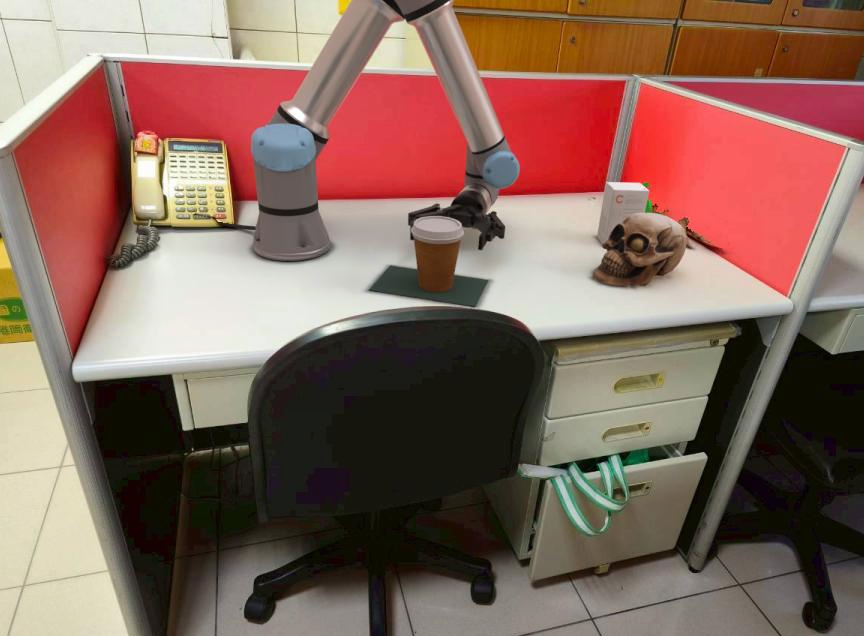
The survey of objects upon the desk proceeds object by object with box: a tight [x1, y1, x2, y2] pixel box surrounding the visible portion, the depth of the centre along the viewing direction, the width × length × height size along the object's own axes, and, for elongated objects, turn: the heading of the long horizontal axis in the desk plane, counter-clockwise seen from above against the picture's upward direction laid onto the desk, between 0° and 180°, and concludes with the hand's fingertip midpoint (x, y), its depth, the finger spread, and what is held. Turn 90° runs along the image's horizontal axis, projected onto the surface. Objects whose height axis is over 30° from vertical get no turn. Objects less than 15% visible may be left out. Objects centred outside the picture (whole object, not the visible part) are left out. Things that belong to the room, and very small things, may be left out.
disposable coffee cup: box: [411, 216, 465, 292], centre depth 115 cm, size 10×10×12 cm
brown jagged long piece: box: [678, 217, 718, 249], centre depth 147 cm, size 9×5×18 cm
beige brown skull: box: [592, 212, 687, 287], centre depth 126 cm, size 16×17×13 cm
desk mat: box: [368, 265, 489, 308], centre depth 118 cm, size 20×12×1 cm, turn 77°
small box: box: [596, 181, 650, 245], centre depth 141 cm, size 8×6×13 cm
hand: (445, 238), depth 120 cm, fingers open, 13 cm apart
